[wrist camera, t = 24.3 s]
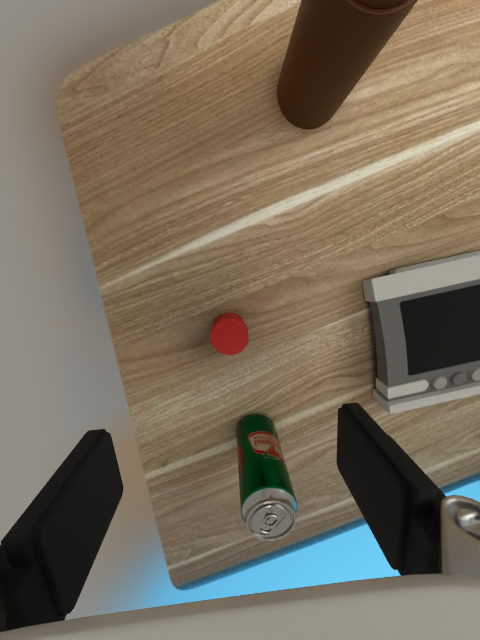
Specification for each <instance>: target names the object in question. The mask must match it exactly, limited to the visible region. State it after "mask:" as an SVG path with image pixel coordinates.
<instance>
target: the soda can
mask: <svg viewBox="0 0 480 640" xmlns="http://www.w3.org/2000/svg"><path fill="white" fill-rule="evenodd" d="M236 435H237V452H238V470H239V487H240V505H241V515H242V518H243V520H244V521H245V523H246V526H247V529H248V531H249V532H250V534H251V535H253V536H254V537H256V538H258V539H260V540H265V541H273V540H278V539H280V538H283V537H285V536H286V535H288V534H289V533H290V532H291V531H292V530H293V528H294V526H295V524H296V512H297V502H296V498H295V495H294V491H293V488H292V484H291V481H290V477H289V474H288V471H287V467H286V464H285V460H284V457H283V453H282V450H281V446H280V443H279V440H278V436H277V433H276V429H275V426H274V424H273V422H272V421H271V420H270V419H269V418H267V417H265V416H263V415H251V416H248V417H246V418H245V419H243V420H242V421H241V422H240V423H239V425H238V427H237V432H236Z"/></svg>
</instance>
